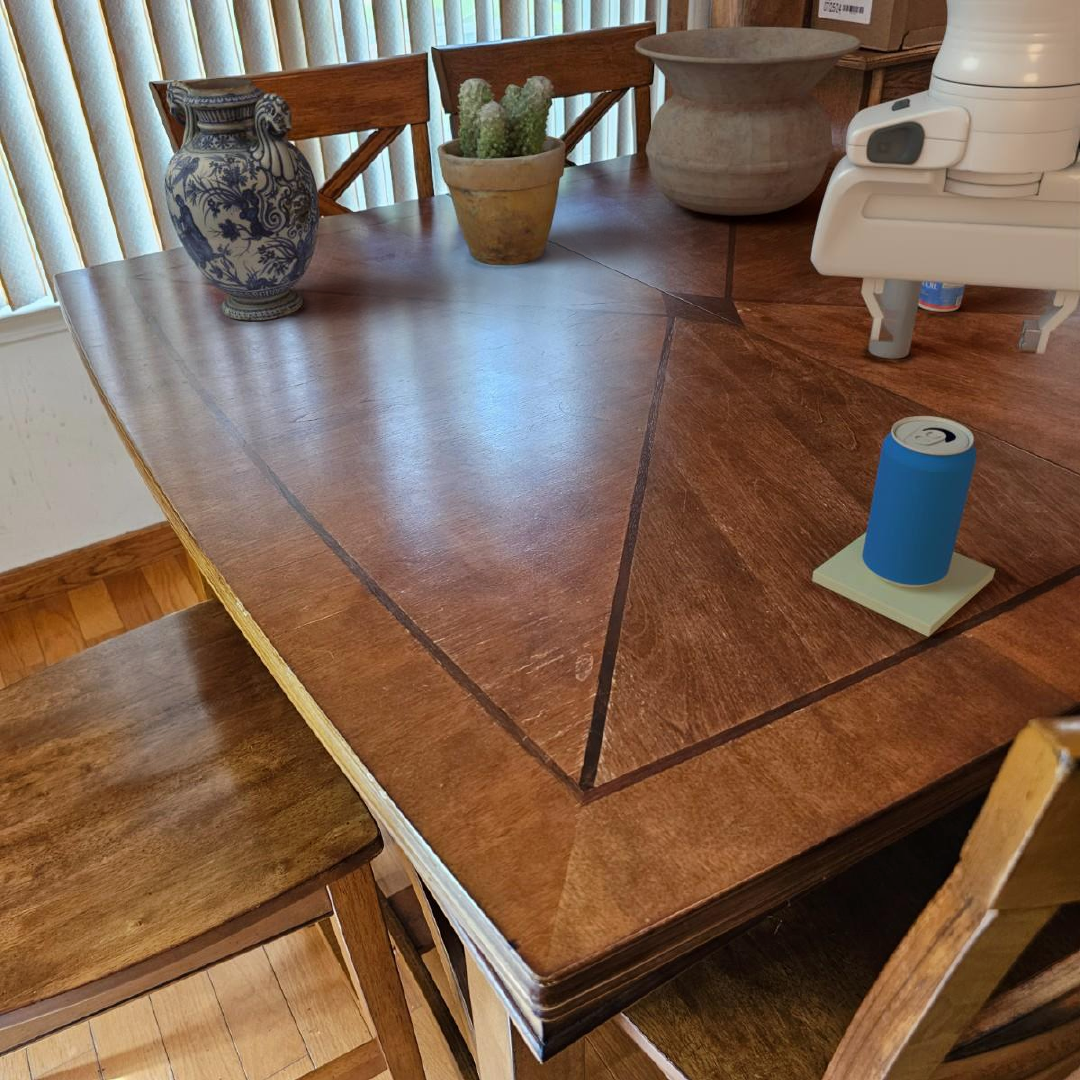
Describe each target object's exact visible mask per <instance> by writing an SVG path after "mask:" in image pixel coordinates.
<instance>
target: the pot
mask: <svg viewBox="0 0 1080 1080" xmlns="http://www.w3.org/2000/svg"><path fill="white" fill-rule="evenodd" d="M861 46H862V41H861V40H860V39H859V38H858V37H856V36H854V35H851V34H847V33H843V32H839V31H832V30H826V29H816V28H804V27H786V26H785V27H784V26H783V27H782V26H731V27H730V26H729V27H710V28H696V29H687V30H686V29H685V30H677V31H676V30H675V31H670V32H663V33H659V34H653V35H650V36H647V37H644V38H641V39H639V40H637V41H636V43H635V46H634V49H635V50H636V51H637V52H638V53H639V54H641V55H643V56H645V57H649V59H650V60H651V61H652V62H653V63H654V65H655V66H656V68H657V69H658V70H659V71H660V72H661V74H662V75H663V76H664V77H665V78H666V80H667V81H668V82H669V84H670V85H671V88H672V90H673V92H674V93H673V95H672V96H671V97H669V98H668V99H667V100H665V101H664V102H663V104H661V105H660V106H659V108H658V109H657V111H656V113H655V115H654V118H653V121H652V123H651V127H650V131H649V134H648V135H649V136H648V140H647V142H646V146H645V153H646V156H647V160H648V165H649V170H650V174H651V176H652V179H653V181H654V183H655V185H656V186H657V188H658V191H659V192H660V193H661V194H663V196H664V197H665V198H666V199H667V200H669V201H670V202H671V203H674V204H676V205H678V206H680V207H682V208H685V209H687V210H690V211H693V212H699V213H703V214H710V215H716V216H717V215H719V216H756V215H765V214H770V213H775V212H779V211H783V210H785V209H788V208H791V207H793V206H795V205H798V204H799V203H801V202H802V201H804V200H805V199H806V198H807V197H808V196H810V195H811V194H813V192H814V191H815V190H816V188H817V187H818V186H819V184H820V183H821V181H822V179H823V176H824V174H825V171H826V170H827V167H828V164H829V161H830V159H831V157H832V156H833V152H834V145H833V133H832V125H831V121H830V116H829V114H828V112H827V109H826V108H825V106H824V104H823V103H822V102H821V101H820V100H819V99H818V98H816V96H814V95H813V90H814V89H815V87H816V85H817V84H818V83H819V82H821V80H822V79H823V78H824V77H825V76H826V75H827V74H828V73H829V71H831V70H832V69H833V68H834V66H836V65H837V63H838V62H839V61H840V60H841V59H842V58H843V57H845V55H849V54H852V53H853V52H856V51H858V50H859V49H860V47H861Z"/></svg>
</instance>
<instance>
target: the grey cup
mask: <svg viewBox="0 0 1080 1080" xmlns="http://www.w3.org/2000/svg"><path fill="white" fill-rule="evenodd" d="M921 287H922V282H919V281H904V280H889V279H885V283H884V289H883V293H882V294H879V296H880V298H881V300H882V303H883V305H884V307H885V309H888V310H897V321H896V327H895V330H894V338H893V342H884V341H871V334H872V328H871V330H870V337H869V342H868V352H869V353H870V354H872V355H873V356H876V357H879V358H882V359H889V360H890V359H892V360H894V359H902V358H905V357H907V356H908V355H909V354H910V350H911V344H912V341H913V335H914V329H915V323H916V320H917V319H916V317H917V315H918V314H917V313H918V307H919V305H918V303H919V298H920V292H921ZM873 320H874V318H873V317H872V321H873ZM872 326H873V322H872V325H871V327H872Z"/></svg>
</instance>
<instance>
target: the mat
mask: <svg viewBox="0 0 1080 1080" xmlns="http://www.w3.org/2000/svg"><path fill="white" fill-rule="evenodd" d="M865 537H866V532H864V533H863V534H861V535H860V536H859V537H858V538H856V539H855V540H853V541H852V542H850V543H849V544H848V545H846V546H845V547H844V548H843V549H841V550H840V551H839V552H837V553H836V554H834V555H833V556H832V557H830V558H828V560H826V561H825V562H824V563H822V564H821V565H820V566H818V567H816V568H815V569H813V571H812V577H811V578H812V579H811V581H812V582H813V583H816V584H818V585H820V586H822V587H824V588H826V589H827V590H830V591H832V592H834V593H836V594H838V595H840V596H843V597H844V598H847V599H848V600H851V601H853V602H855V603H857V604H859V605H861V606H863V607H865V608H867V609H869V610H871V611H873V612H875V613H877V614H880V615H882V616H884V617H886V618H888V619H890V620H892V621H893V622H894V621H895V622H897V623H898V624H901V625H902V626H905V627H907V628H909V629H911V630H912V631H915V632H917V633H919V634H922V635H924V636H925V637H927V638H929V637H930V636H931V635H932V634H934V633H935V632H936V631H937V630H938V629H939V628H940V627H941V626H943V625H944V624H945V623H946V622H947V621H948V620H949V619H950V618H951V617H953V615H954V614H956V613H957V612H958V611H959V610H960V609H961V608H962V607H964V605H966V604H967V603H968V602H969V601H970V600H971V599H972V598H973V597H974V596H976V595H977V594H978V593H979V592H980V591H981V590H982V589H984V588H985V587H986V586H987V585H988V584H989V583H990V582H991V581H992V580H993V579H994V575H995V573H996V568H994V567H991V566H990V565H986V564H985V563H982V562H980V561H977V560H975V559H972V558H970V557H967V556H966V555H963V554H961V553H958V552H956V551H953V555H952V559H951V564H950V568H949V571H948V573H947V575H946V576H945V577H944V578H943V579H942V580H940V581H938V582H936V583H933V584H929V585H926V586H923V587H916V588H908V587H900V586H896V585H893V584H890V583H887V582H885V581H883V580H882V579H880V578H879V577H878V576H876V575H875V574H874V573H873V572H872V571H871V570H870V569H868V567H867V566H866V565H865V563H864V561H863V557H862V554H863V548H864V542H865Z"/></svg>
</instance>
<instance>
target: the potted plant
mask: <svg viewBox="0 0 1080 1080" xmlns="http://www.w3.org/2000/svg"><path fill="white" fill-rule="evenodd" d="M459 85H460V87H459V93H458V95H457V98H458V104H459V105H457V106H456V107H457V108H458V110H459V111H458V116H457V118H458V119H459V122H460V123H459V124H460V125H459V126H458V128H459V129H458V130H457V135H458V137H459V138H454V139H451V140H448V141H445V142H443V143H442V144H440V145H438V147H437V149H436V150H437V154H438V161H439V167H440V172H441V177H442V180H443V182H444V184H445V185H446V186H447V188H448V191H449V195H450V199H451V201H452V205H453V208H454V212H455V217H456V219H457V222H458V224H459V227H460V229H461V231H462V234H463V238H464V240H465V243H466V245H467V248H468V252H469V254H470V255H471V257H472V258H473V259H474V260H475V261H477V262H480V263H483V264H487V265H498V266H500V265H501V266H502V265H503V266H504V265H505V266H508V265H520V264H524V263H529V262H533V261H535V260H537V259H539V258H540V257H541V256H542V255H543V254H544V252H545V250H546V247H547V243H548V239H549V235H550V232H551V229H552V225H553V221H554V216H555V212H556V207H557V202H558V201H557V200H558V196H559V188H560V179H561V178H562V177H564V173H565V162H566V146H567V144H566V143H565V141H564V140H563V139H561V138H558V137H555V136H550V135H548V134H547V131H546V129H547V128H548V125H547V121H548V120H549V118H548V116H549V115H550V108H551V107H552V106H553V99H552V98H553V97H554V96H555V94H556V92H554V91H553V90H554V88H555V85H553V84H552V81H551V79H549V78H547V77H545V76H542V75H533V76H532V77H531V78H529V77H528V78H527V79H526V83H525V84H524V85H523V87H521V86H518V85H516V84H509V85H508V86H507V87H506V89H505V90H504V93H505V95H504V96H502V98H500V100H498V102H497V101H495V100H494V99H495V93H493V92H492V89H491V88H492V86H493V85H490V83H489V82H487V81H486V80H485V79H484V78H469V79H467V80H465V81H464V82H463V83H460V84H459Z"/></svg>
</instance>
